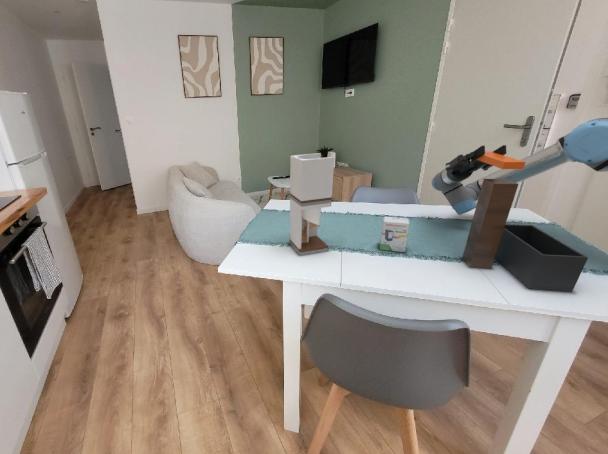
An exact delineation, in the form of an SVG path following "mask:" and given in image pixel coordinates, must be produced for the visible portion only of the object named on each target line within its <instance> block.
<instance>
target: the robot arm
mask: <svg viewBox="0 0 608 454" xmlns="http://www.w3.org/2000/svg"><path fill="white" fill-rule="evenodd" d="M485 152H486V145H481V146H479V147H478V148H476V149H475V150H474V151H471V152H469V153H466V154H465V155H464V154H458V155H457V156H456V157H454V158H453V159H451V161H449V162H446V163H445V168H444V169H443V170H441V171H440V172H438V173H436V174H435V176H433V178H432V179H431V186H432V187H433V189H434V190H436V191H439V192H441V194H442V195H443V196H444V197H445V199H446V200H447V202H448V204H449V205H450V206H451V209H452V210H454V212H455V213H456V214H457V215H459V216H460V215H464V214H466V213H468V212H470V211H473V210H475V209H476V205H477V201H478V198H479V194H480V191H481V187H482V183H483V180H484V179H508V180H510V181H513V182H515V183H517V184H519V183H521V182H523V181H526V180H528V179H531V178H533V177H535V176H537V175H540V174H542V173H544V172H547V171H550V170H552V169H554V168H557V167H559V166H561V165H564V164H566V163H568V162H571V163H575V162H577V163H579V164H580V163H581V164H584V165H586V166H588V167H589V168H591V169H592V170H593V171H596V172H597V173H605V172H606V173H607V172H608V117H600V118H598V117H597V118H594V119H590V120H588V121H586V122H583V123H581V124H579V125H577V126H576V127H575V128H573V129H572V130H571V131H569V133H567V134H566V135H563V136H562V137H559V138H557V140H556V142H555V143H554V144H551V145H549V146H546V147H545V148H543V149H541V150H539V151H537V152H534V153H532V154H530V155H528V156H526V157H524V158H521V159H520V160H521V161H524V162H525V166H524V169H501V168H499V169H498V170H496V171H494V172H492V173H490V174H488V175H486V176H484V177H481V178H479V179H478V180H475V181H473V182H470V183H468V184H466V185H464V184H463V183H462V182H463V181H465V180H467V179H469V178H470V177H472V175H473V173H474V172H477V171H478V170H483V171H488V170H489V169H490V168H492V167H494V166H493V165H490V164H487V163H484V162H482V161H479V160H476V159H478V158H479V157H481V156H482V155H484V154H485ZM492 152H494V153H497V154H500V155H504V156H506V155H507V144H503V145H501V146H500V147H497V148H496V149H495V150H493V151H492Z"/></svg>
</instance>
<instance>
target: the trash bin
mask: <svg viewBox="0 0 608 454" xmlns="http://www.w3.org/2000/svg"><path fill="white" fill-rule="evenodd" d="M588 259H589V257H588V256H586V255H584V253H581V252H580V251H578V250H576V249H574V248H573V247H571V246H570V245H567V244H566V243H564V242H563V241H561V240H559V239H557V238H555V237H554V236H552V235H550V234H549V233H547V232H545V231H543V230H542V229H540V228H538V227H537V226H535V225H533V224H532V225H531V224H510V223H509V224H507V223H506V224H505V227H504V231H503V234H502V237H501V240H500V243H499V246H498V249H497V252H496V255H495V258H494V260H496V261H497V262H498V263H499V264H500V265H501V266H503V268H505V269H506V270H507V271H508V272H509V273H510V274H512V276H514V277H515V278H516V279H517V280H518V281H519V282H521V284H523V285H524V286H525V287H526V288H527V289H529V290H539V291H553V292H564V293H565V292H566V293H573V291H574V289H575V286H576V285H577V283H578V280H579V278H580V276H581V274H582V272H583V269H584V267H585V266H586V263H587V261H588Z"/></svg>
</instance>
